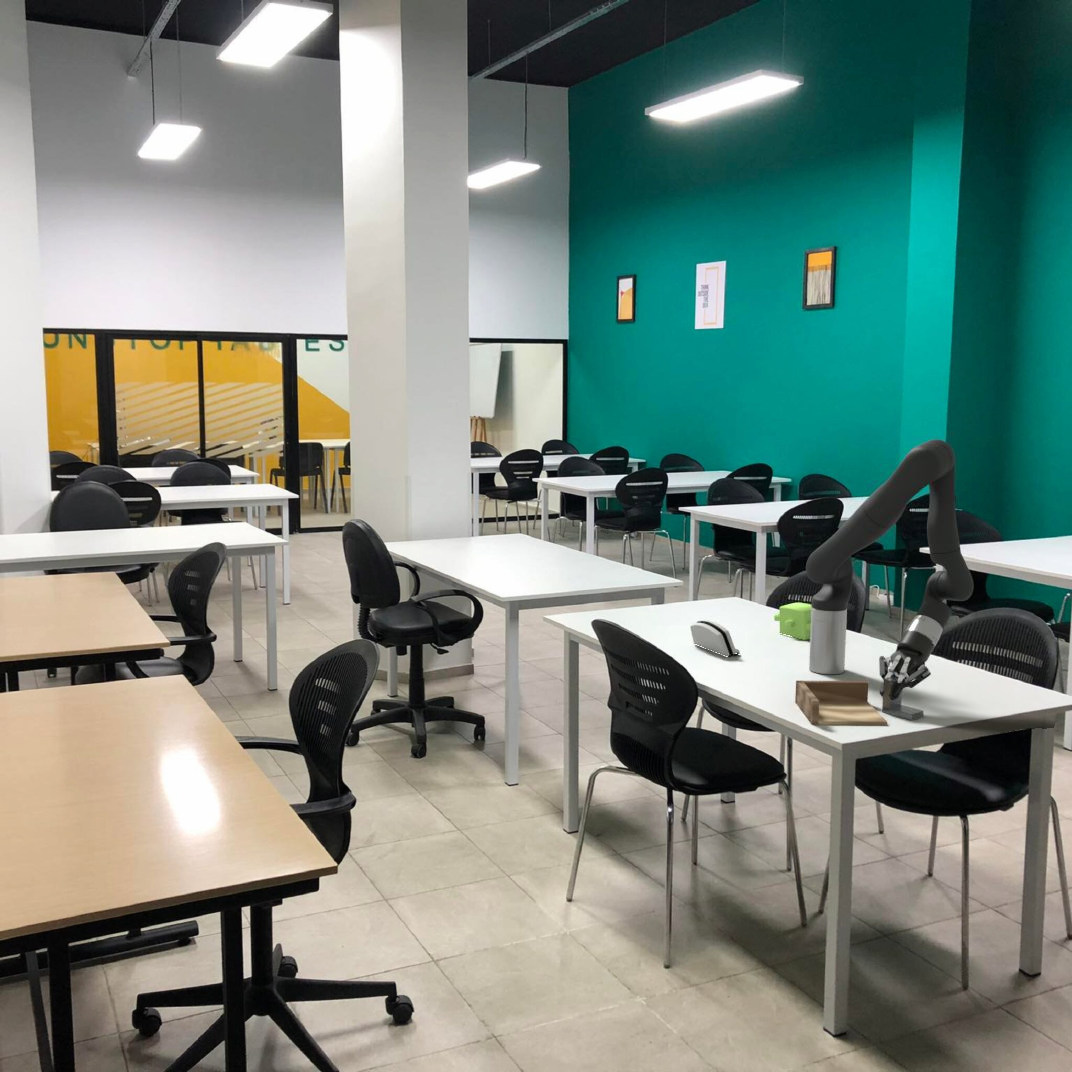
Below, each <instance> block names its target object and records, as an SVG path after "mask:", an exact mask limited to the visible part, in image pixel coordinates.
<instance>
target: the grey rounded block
mask: <svg viewBox="0 0 1072 1072" xmlns="http://www.w3.org/2000/svg"><path fill="white" fill-rule="evenodd" d="M689 628H690V631H691V637H692V642H693V645H694V644H697V645H699V646H702V647H704V648H706V649H709V650H712V651H714V652H717V653H720V654H722V655H725V656H729V655H730V656H731V655H736V654H735V653H737V654H740V655H741V653H740V649H738V648H736V647H735V645H734V641H733V639H732V636H731V634H730V631H729V630H728V629H727V628H726V627H724V626H723V625H721V624H720V623H718V622H715V621H714V620H710V619H701V620H698V621H696V622H695V623H692V624H691V625H690V627H689ZM706 649H705V650H706Z"/></svg>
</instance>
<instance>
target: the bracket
mask: <svg viewBox="0 0 1072 1072" xmlns="http://www.w3.org/2000/svg"><path fill="white" fill-rule="evenodd" d="M898 678H899V677H897V676H894V677H890V678H886V679H884V680H883V682H884V685H883V697H882V707H881V708H882V709H881V712H882V713H884V714H887V715H891V716H895V717H898V718H902V719H905V720H909V721H915V720H918V718H919V719H921V717H922V718H924V712H925V711H924V710H922V709H919V708H915V707H911V706H907V705H904V704H902V698H903V697H902V695H903V691H902V692H901V693H900V695H899V697H898V698H897V699H895V700H892V699H891V698H890V697H889V693H890V692H891V691H892V689H893V687H894V685H895V684H896V683H897V680H898Z"/></svg>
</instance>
